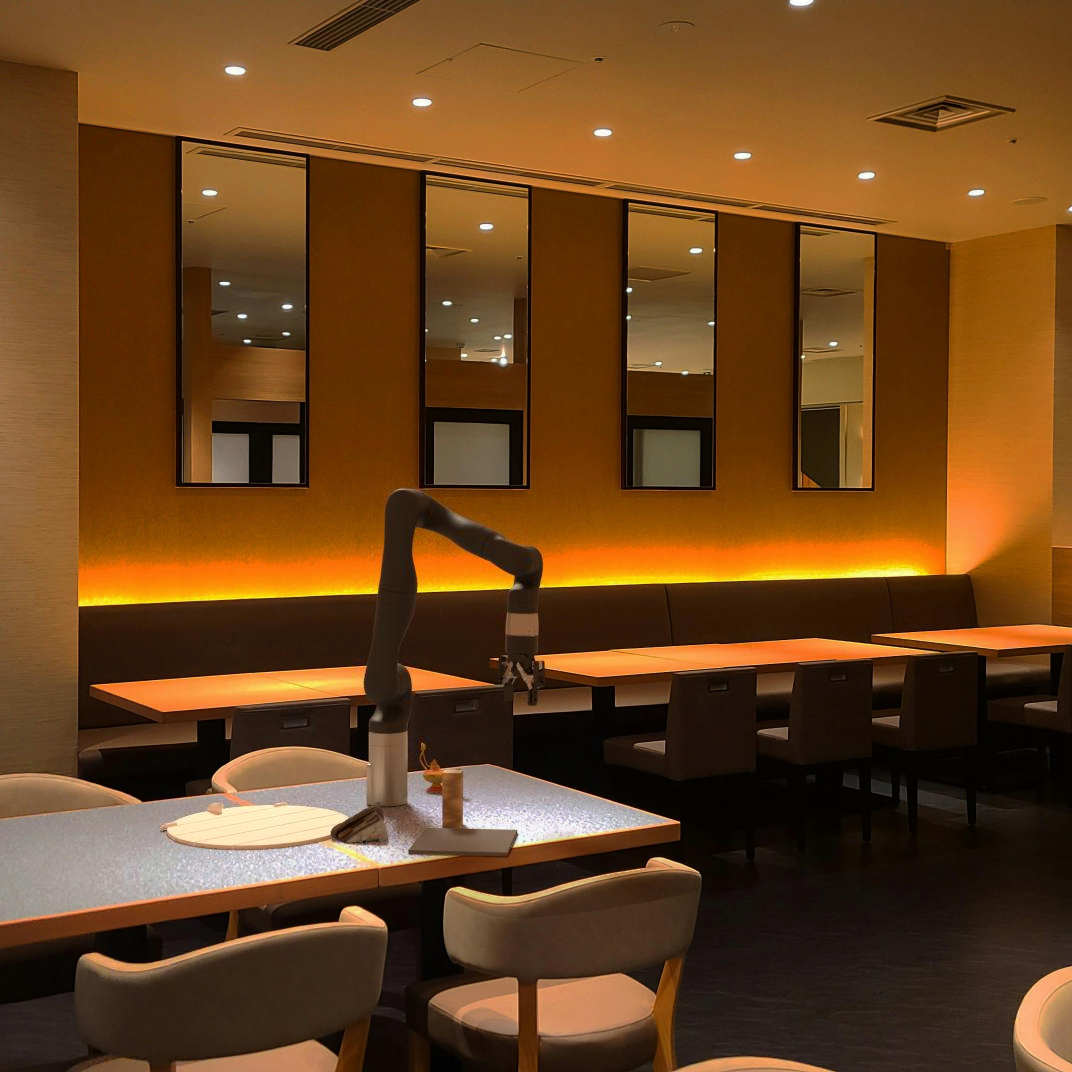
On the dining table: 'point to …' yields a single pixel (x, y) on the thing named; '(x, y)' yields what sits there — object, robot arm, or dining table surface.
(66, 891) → the dining table surface
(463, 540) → the robot arm
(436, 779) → the magic lamp
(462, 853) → the charcoal mat
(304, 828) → the lazy susan
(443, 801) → the oak pillar
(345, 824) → the chocolate cake
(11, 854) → the dining table surface
